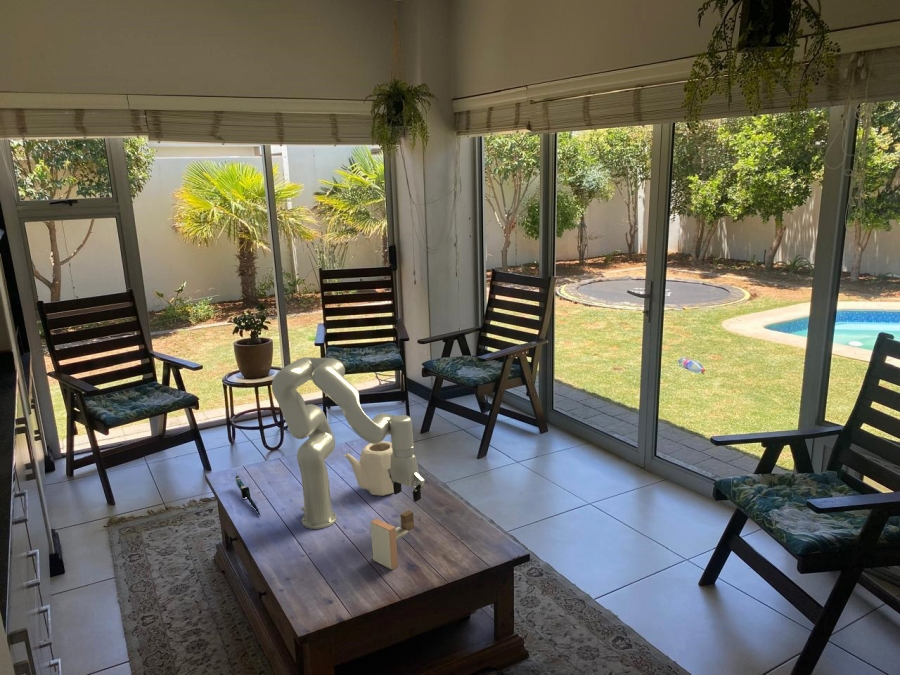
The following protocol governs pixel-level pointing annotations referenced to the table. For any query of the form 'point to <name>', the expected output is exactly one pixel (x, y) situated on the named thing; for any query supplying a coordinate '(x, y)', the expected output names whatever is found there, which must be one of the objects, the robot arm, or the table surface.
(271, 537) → the table surface
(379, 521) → the tile
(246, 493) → the knife
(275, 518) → the table surface
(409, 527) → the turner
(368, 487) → the cream teapot
